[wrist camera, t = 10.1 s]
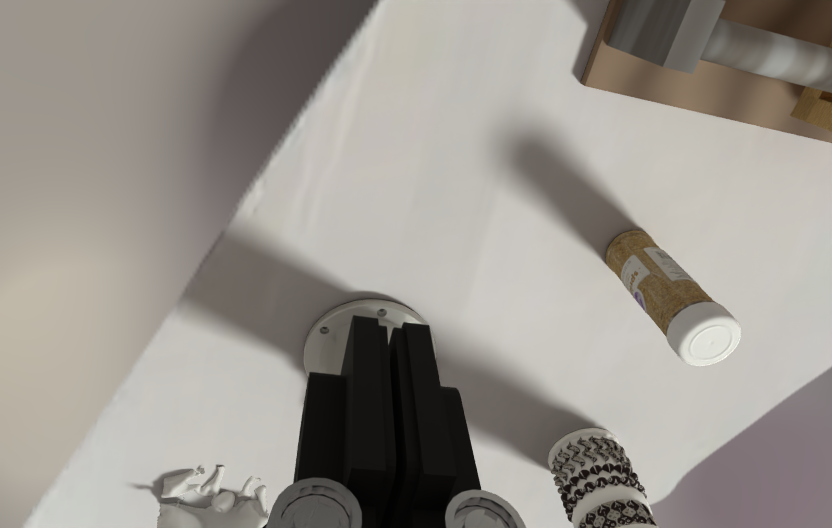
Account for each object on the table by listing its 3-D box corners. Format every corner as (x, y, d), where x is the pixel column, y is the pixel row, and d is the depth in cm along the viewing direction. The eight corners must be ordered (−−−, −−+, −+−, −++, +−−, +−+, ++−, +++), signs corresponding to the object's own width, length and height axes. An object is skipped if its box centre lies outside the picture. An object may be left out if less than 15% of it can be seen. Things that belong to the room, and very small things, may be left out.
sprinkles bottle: (594, 250, 49) (667, 343, 37) (638, 218, 48) (728, 305, 36) (619, 281, 51) (696, 379, 39) (662, 252, 50) (754, 344, 38)
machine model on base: (939, 22, 41) (1081, 40, 33) (860, 147, 46) (966, 190, 38) (634, -67, 37) (712, -73, 28) (580, 83, 41) (634, 115, 33)
